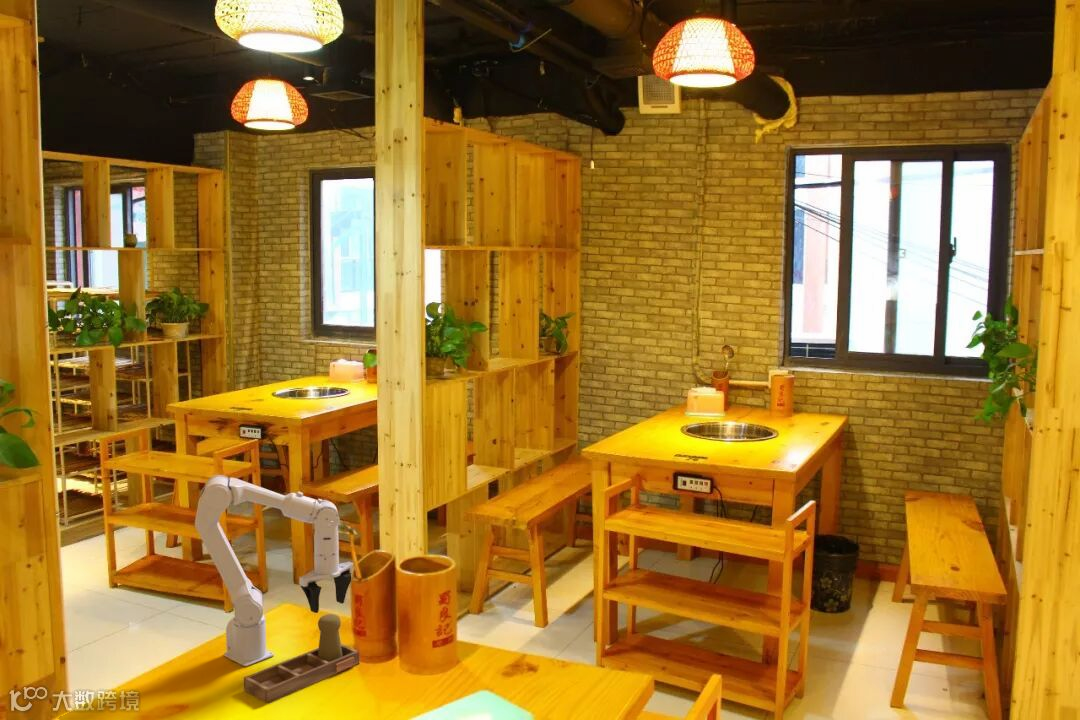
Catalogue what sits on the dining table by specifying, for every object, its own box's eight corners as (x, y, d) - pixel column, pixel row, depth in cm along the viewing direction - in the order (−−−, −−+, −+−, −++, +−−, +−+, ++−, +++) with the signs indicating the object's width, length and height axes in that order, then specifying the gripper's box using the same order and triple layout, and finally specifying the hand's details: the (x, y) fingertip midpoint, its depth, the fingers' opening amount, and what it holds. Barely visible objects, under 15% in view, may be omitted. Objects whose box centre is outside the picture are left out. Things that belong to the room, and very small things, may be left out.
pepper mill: (337, 668, 207) (336, 622, 206) (312, 666, 208) (311, 620, 207) (347, 656, 213) (346, 612, 212) (322, 655, 214) (321, 610, 213)
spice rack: (244, 690, 198) (243, 677, 198) (335, 653, 217) (335, 641, 217) (269, 704, 192) (268, 691, 192) (361, 664, 211) (360, 652, 211)
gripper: (311, 563, 209) (312, 620, 210) (361, 548, 220) (361, 602, 221) (293, 557, 213) (294, 612, 215) (342, 542, 224) (343, 595, 226)
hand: (327, 606), depth 218 cm, fingers open, 7 cm apart
